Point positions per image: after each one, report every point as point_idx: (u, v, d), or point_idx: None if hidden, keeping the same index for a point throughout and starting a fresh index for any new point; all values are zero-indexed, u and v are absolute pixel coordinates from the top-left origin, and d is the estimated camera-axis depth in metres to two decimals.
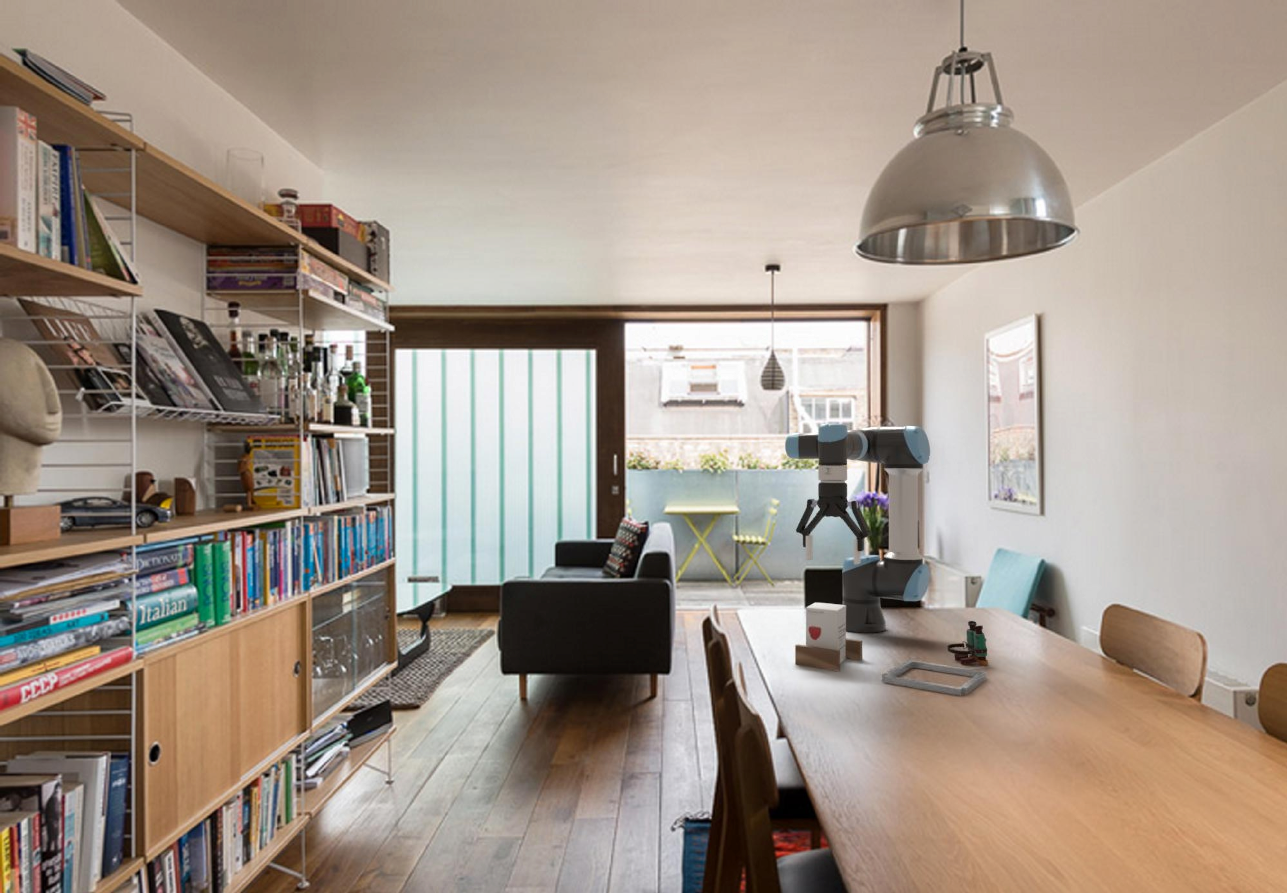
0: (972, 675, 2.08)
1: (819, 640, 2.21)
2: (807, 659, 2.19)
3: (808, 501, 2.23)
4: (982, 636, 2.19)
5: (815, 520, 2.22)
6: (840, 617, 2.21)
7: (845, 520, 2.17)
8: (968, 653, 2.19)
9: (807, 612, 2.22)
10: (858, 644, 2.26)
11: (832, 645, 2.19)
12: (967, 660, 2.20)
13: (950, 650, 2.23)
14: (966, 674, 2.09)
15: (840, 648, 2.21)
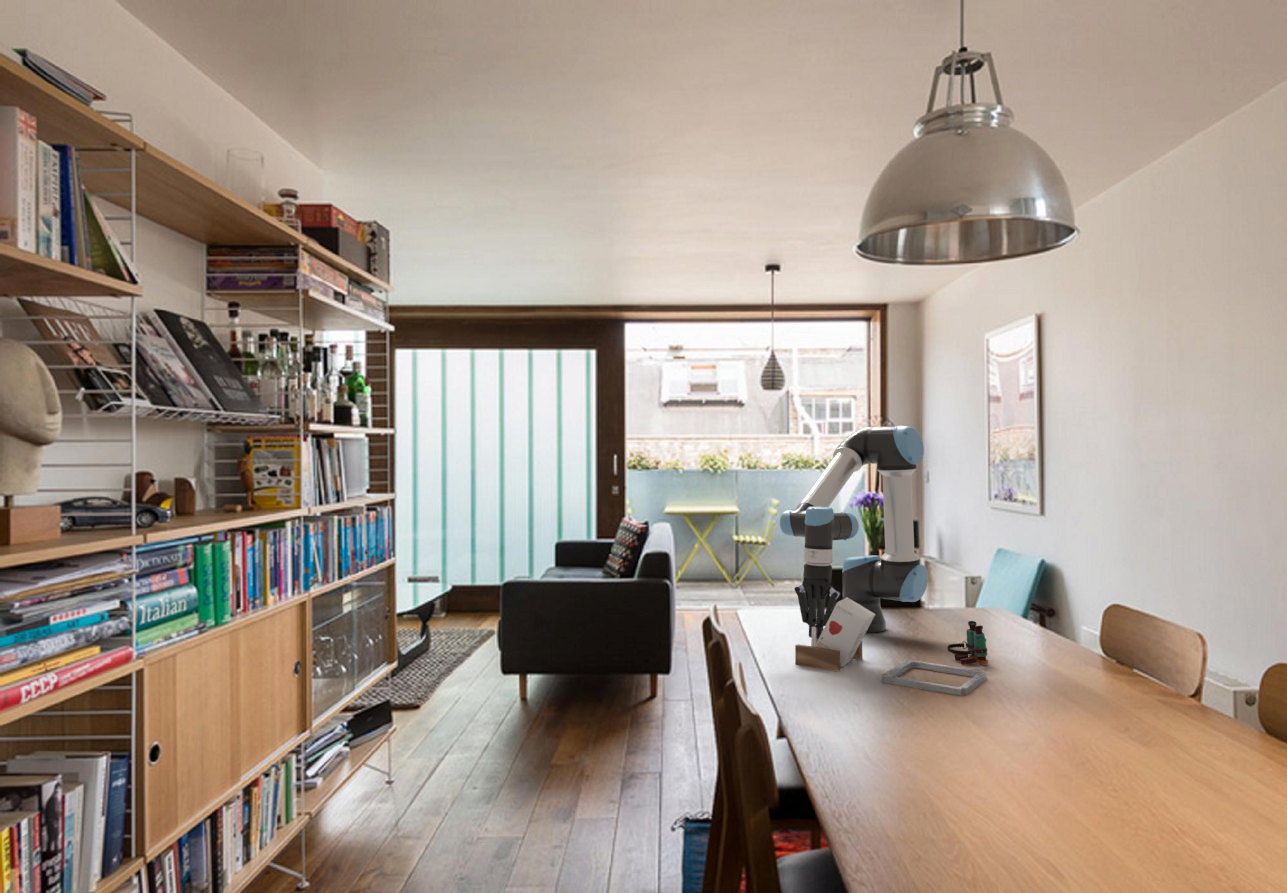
0: (972, 675, 2.08)
1: (836, 637, 2.18)
2: (807, 659, 2.19)
3: (795, 589, 2.28)
4: (982, 636, 2.19)
5: (811, 605, 2.26)
6: (865, 625, 2.16)
7: (818, 605, 2.24)
8: (968, 653, 2.19)
9: (836, 607, 2.18)
10: None
11: (846, 647, 2.17)
12: (967, 660, 2.20)
13: (950, 650, 2.23)
14: (966, 674, 2.09)
15: (851, 652, 2.19)
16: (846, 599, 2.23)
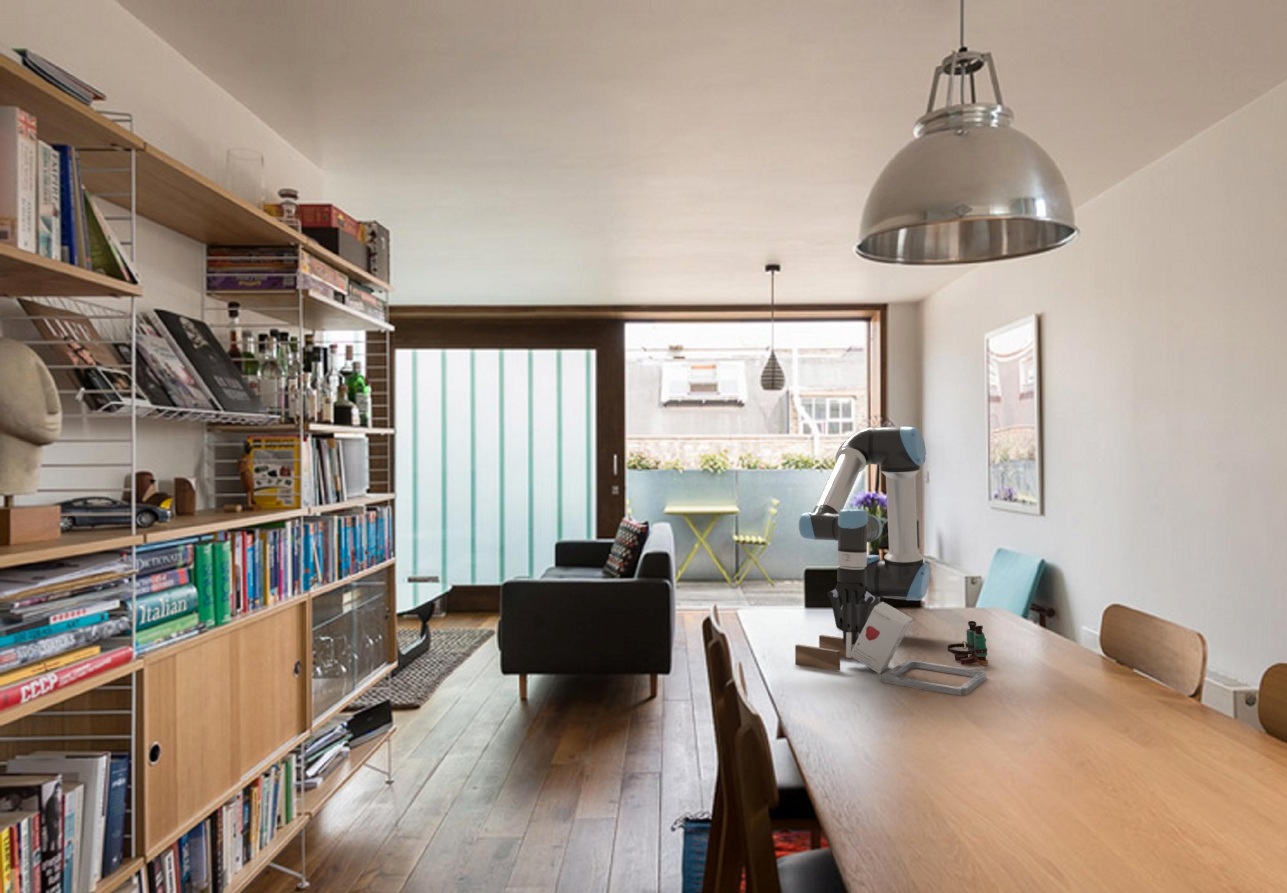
0: (972, 675, 2.08)
1: (873, 642, 2.12)
2: (807, 659, 2.19)
3: (829, 594, 2.22)
4: (982, 636, 2.19)
5: (845, 611, 2.19)
6: (903, 630, 2.10)
7: (853, 610, 2.18)
8: (968, 653, 2.19)
9: (873, 611, 2.12)
10: None
11: (883, 652, 2.10)
12: (967, 660, 2.20)
13: (950, 650, 2.23)
14: (966, 674, 2.09)
15: (889, 658, 2.12)
16: (882, 603, 2.17)
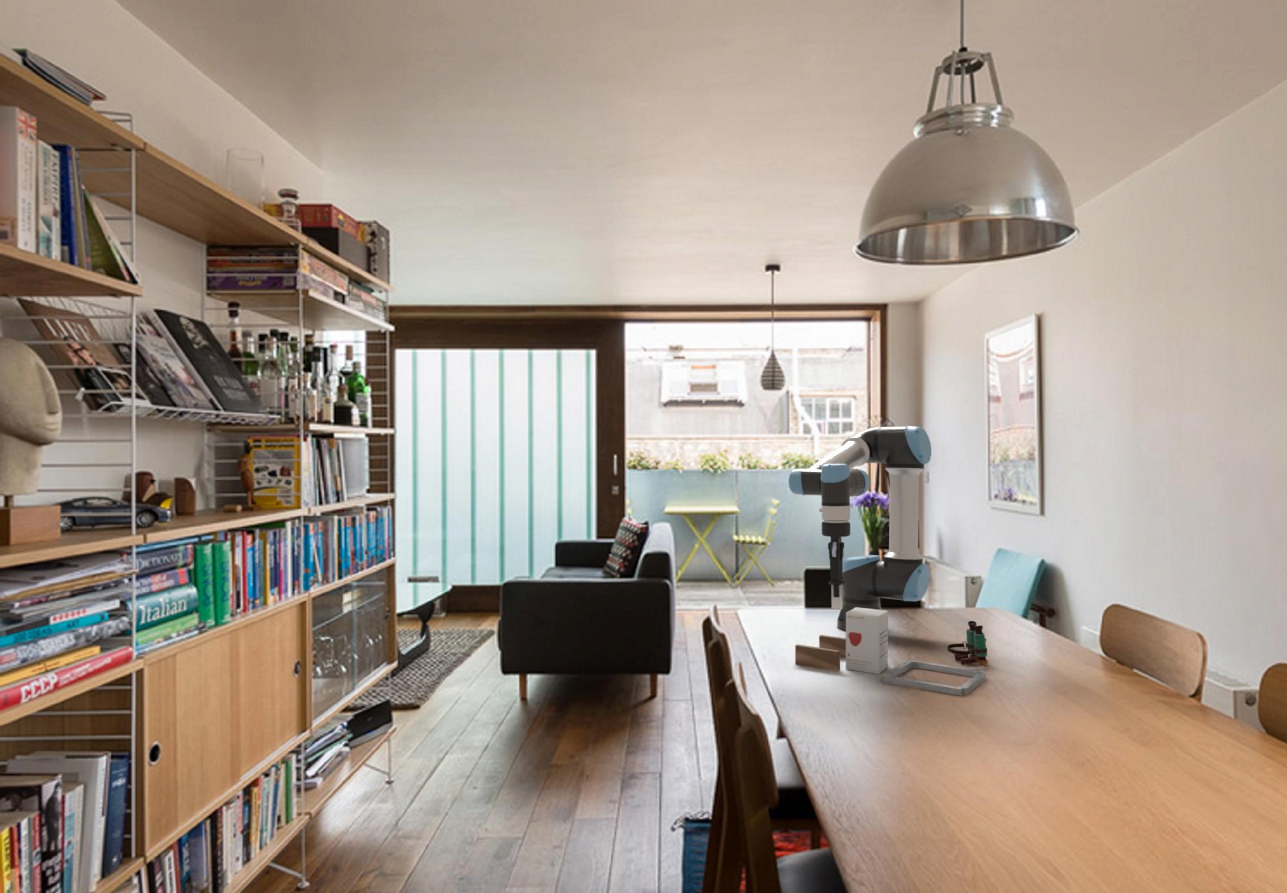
0: (972, 675, 2.08)
1: (860, 646, 2.13)
2: (807, 659, 2.19)
3: None
4: (982, 636, 2.19)
5: None
6: (881, 623, 2.13)
7: None
8: (968, 653, 2.19)
9: (847, 617, 2.15)
10: None
11: (873, 651, 2.12)
12: (967, 660, 2.20)
13: (950, 650, 2.23)
14: (966, 674, 2.09)
15: (881, 655, 2.13)
16: (855, 608, 2.21)
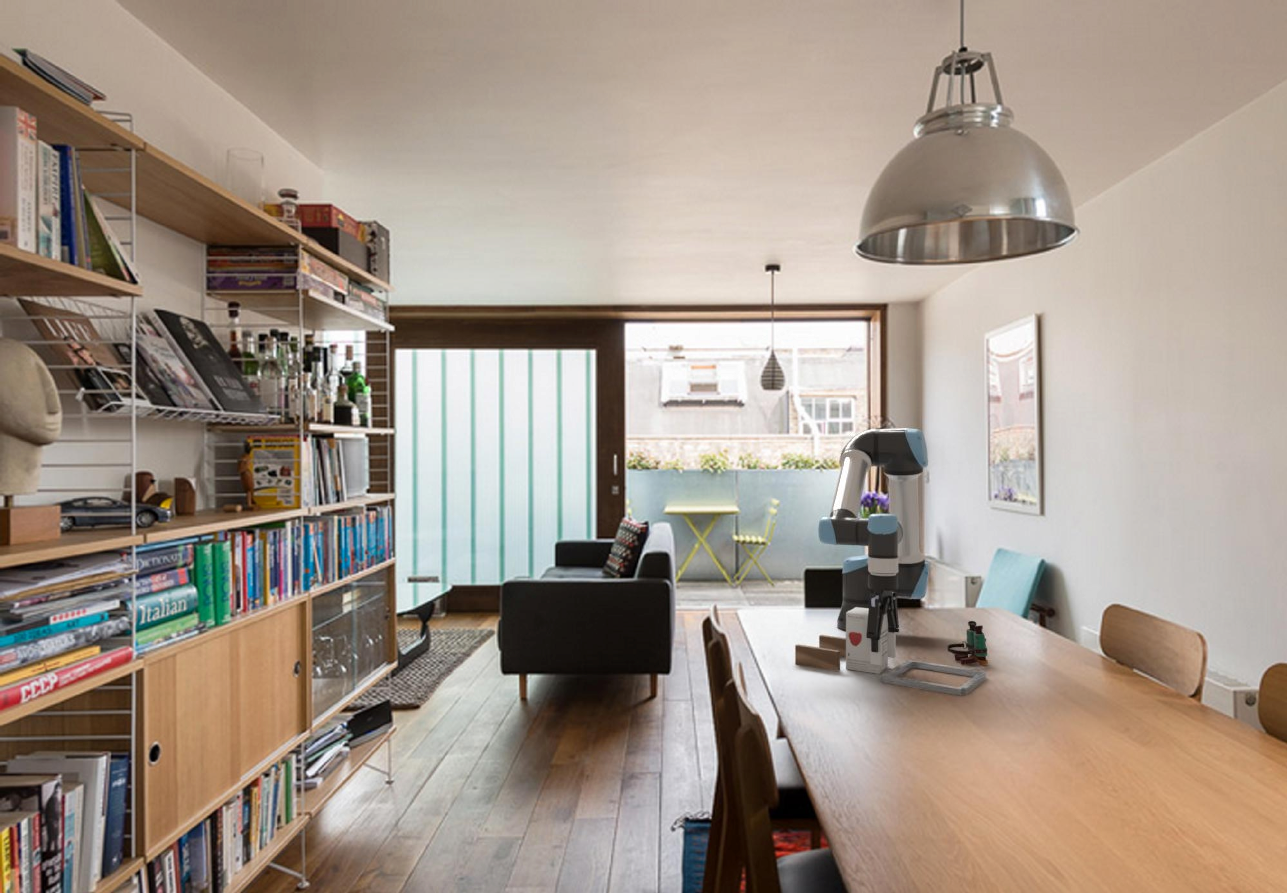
0: (972, 675, 2.08)
1: (860, 646, 2.13)
2: (807, 659, 2.19)
3: None
4: (982, 636, 2.19)
5: None
6: None
7: None
8: (968, 653, 2.19)
9: (847, 617, 2.15)
10: None
11: None
12: (967, 660, 2.20)
13: (950, 650, 2.23)
14: (966, 674, 2.09)
15: (882, 655, 2.13)
16: (855, 608, 2.21)
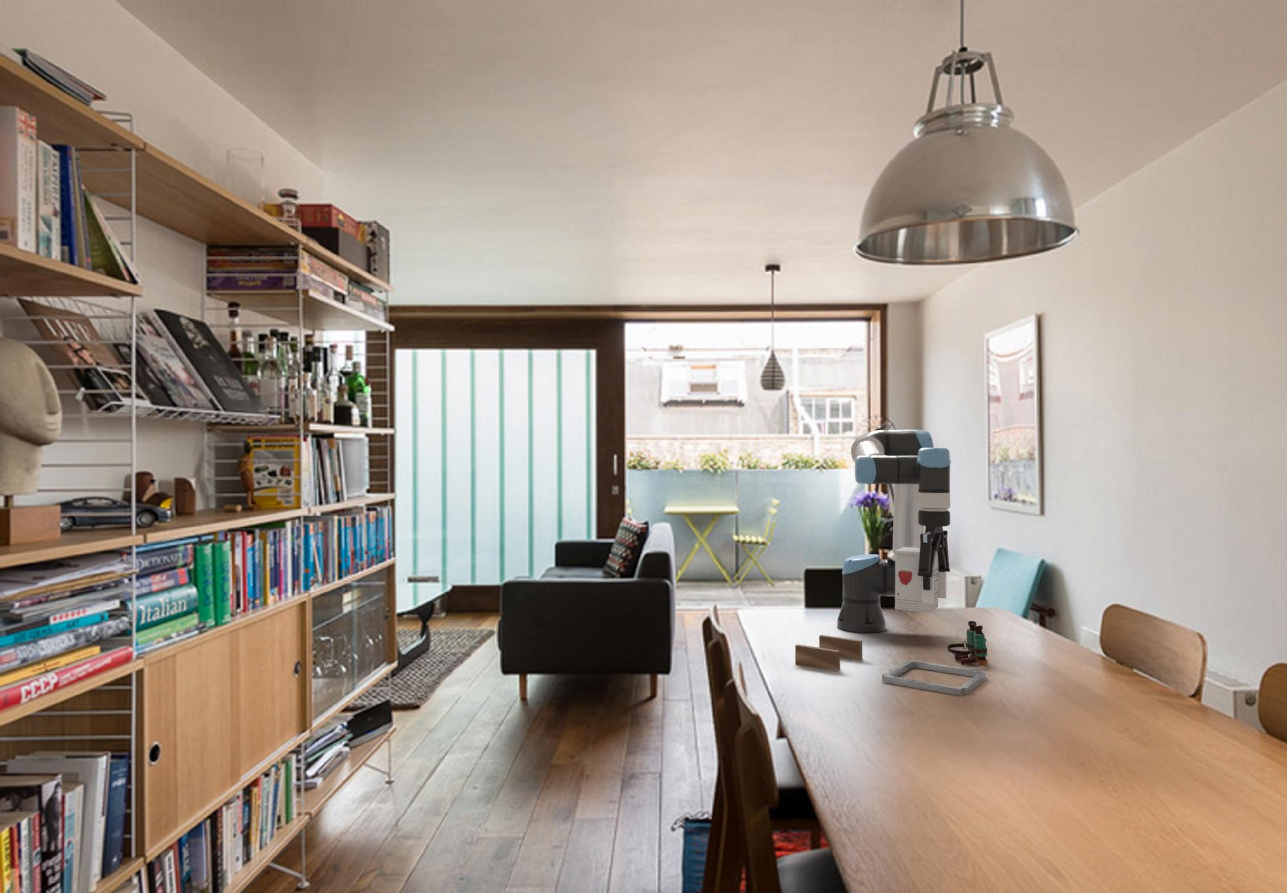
0: (972, 675, 2.08)
1: (910, 585, 2.05)
2: (807, 659, 2.19)
3: None
4: (982, 636, 2.19)
5: None
6: None
7: None
8: (968, 653, 2.19)
9: (896, 555, 2.07)
10: (858, 644, 2.26)
11: None
12: (967, 660, 2.20)
13: (950, 650, 2.23)
14: (966, 674, 2.09)
15: None
16: (903, 547, 2.12)
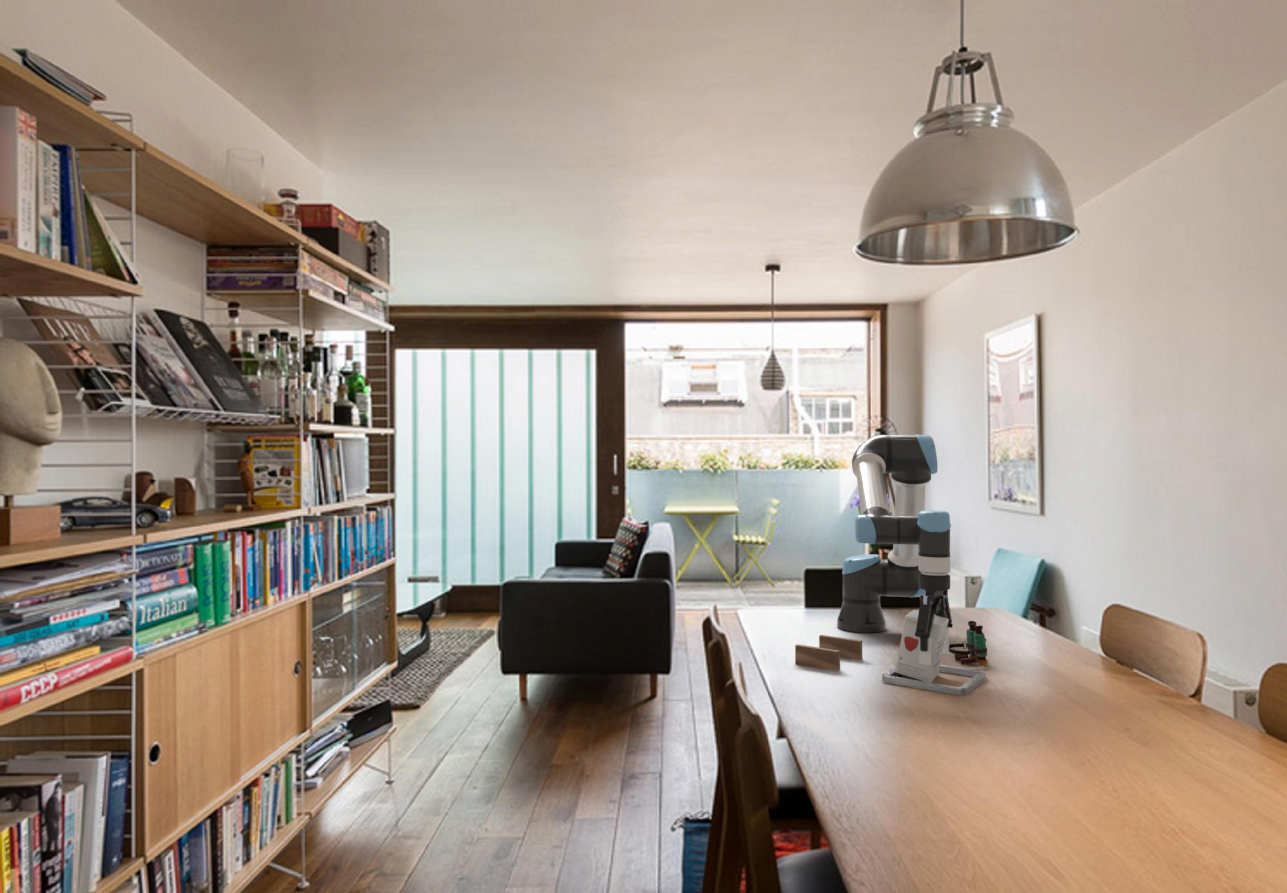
0: (972, 675, 2.08)
1: (914, 652, 2.04)
2: (807, 659, 2.19)
3: None
4: (982, 636, 2.19)
5: None
6: (941, 632, 2.03)
7: None
8: (968, 653, 2.19)
9: (906, 620, 2.05)
10: (858, 644, 2.26)
11: None
12: (967, 660, 2.20)
13: (950, 650, 2.23)
14: (966, 674, 2.09)
15: (936, 664, 2.04)
16: (914, 611, 2.10)
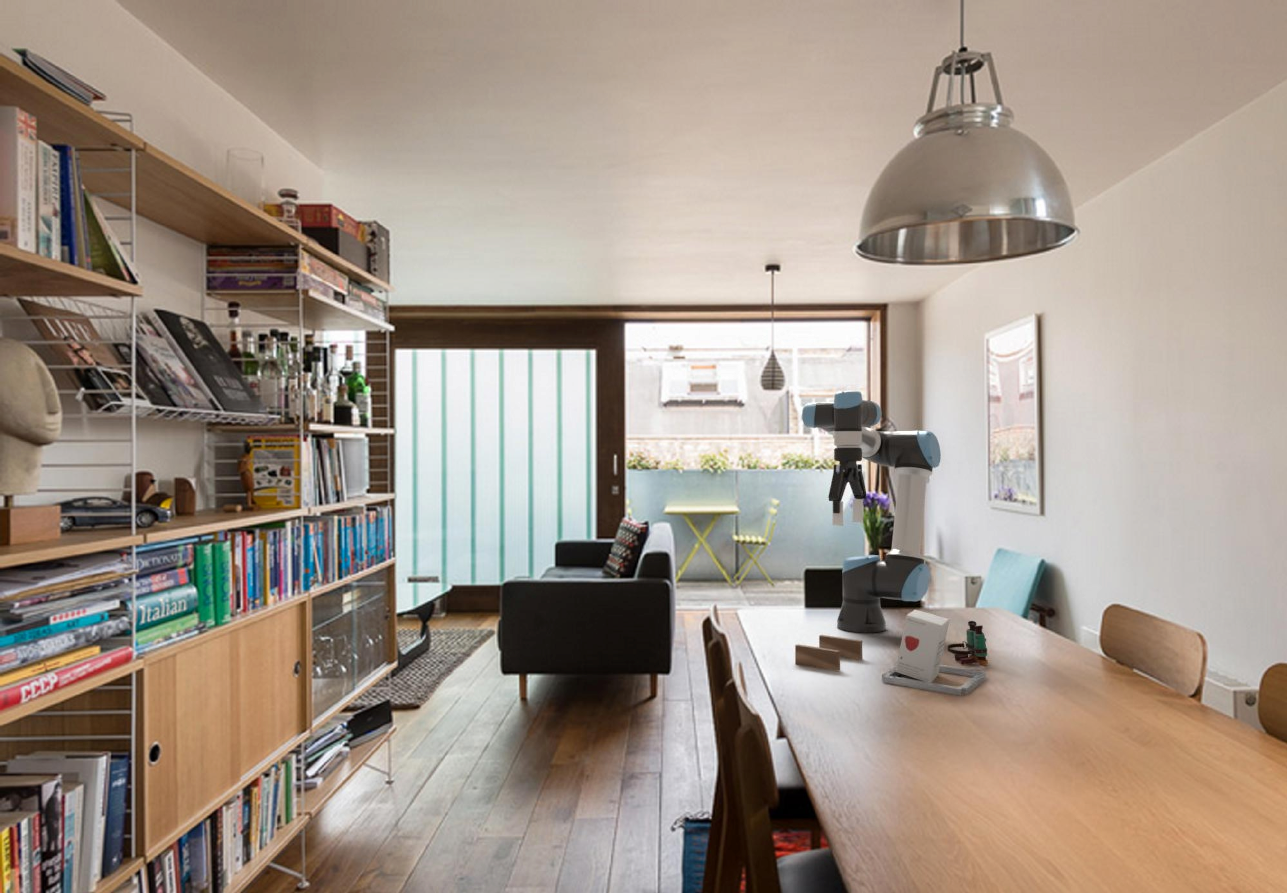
0: (972, 675, 2.08)
1: (915, 652, 2.04)
2: (807, 659, 2.19)
3: None
4: (982, 636, 2.19)
5: None
6: (942, 632, 2.03)
7: None
8: (968, 653, 2.19)
9: (907, 620, 2.05)
10: (858, 644, 2.26)
11: (928, 660, 2.02)
12: (967, 660, 2.20)
13: (950, 650, 2.23)
14: (966, 674, 2.09)
15: (936, 664, 2.04)
16: (915, 611, 2.10)
